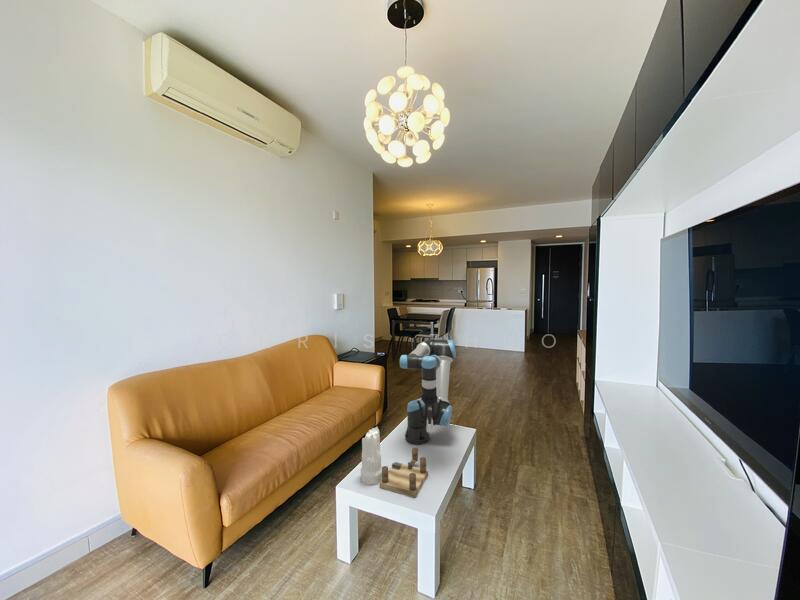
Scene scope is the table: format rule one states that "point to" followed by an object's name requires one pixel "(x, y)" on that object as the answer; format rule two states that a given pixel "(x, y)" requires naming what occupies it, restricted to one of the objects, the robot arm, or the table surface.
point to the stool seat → (404, 478)
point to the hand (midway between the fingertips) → (429, 430)
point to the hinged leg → (413, 457)
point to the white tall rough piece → (371, 458)
